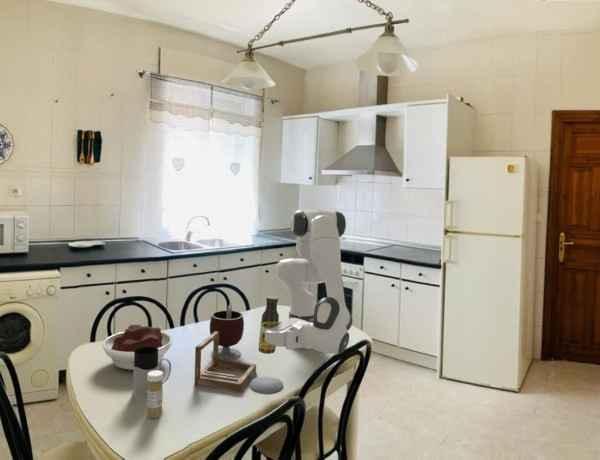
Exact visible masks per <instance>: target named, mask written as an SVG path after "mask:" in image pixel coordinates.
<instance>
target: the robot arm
mask: <svg viewBox="0 0 600 460" xmlns="http://www.w3.org/2000/svg"><path fill="white" fill-rule="evenodd" d="M289 227H290V230H291V233H292V234H293V235H294V236H296V237H297V239H296V244H295V251H296V253H297V255H299V256H300V257H301V258H286V259H280V260H279V261H278V262H277V264H276V266H275V275H276V278H277V279H278V280H279V281H280V282H281V283H282V284H283V285H284V286H285V287H286V289H287V291H288V293H289V301H290V302H289V305H290V308H289V311H288V319H285V320H283V321H281V320H279V324H278V325H277V326H275V327H273V328H271V329H268V328H267V327H264V326H263V327H261V326H260V327H259V328H260V330H259V333H260V332H262V333H265V341H266V342H267V343H269V344H272V345H276V347H280V348H281V347H282V348H284V347H285V349H286V350H288V351H291V350H296V349H307V350H311V349H313V350H315V351H317V352H320V353H325V354H331V355H339V354H342V353H343V352H344V351H346V349H347V347H348V345H349V342H350V334H349V330H350V329H351V328H352V325H353V321H354V320H353V315H352V313H351V311H350V309H349V308H348V306H347V303H346V302H347V301H346V295H345V289H344V282H343V274H342V261H341V259H342V256H341V241H340V237H342V236H343V235H344V234H345V232H346V228H347V220H346V216H345V215H344V213H343V212H340V211H336V210H335V211H331V210H324V209H323V210H322V209H318V210H317V209H314V210H313V209H310V210H304V209H300V210H295V211H294V212H293V213H292V215H291V218H290V221H289ZM322 283H324V284H325V290H326V297H325V296H324V297H322V298H320V299H319V300H318V301H317V302H316V298H315V297H316V296H315V295H314V294H313V292H311V291H309V290H307V289H305V288H304V287H303V286H304V284H322Z"/></svg>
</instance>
